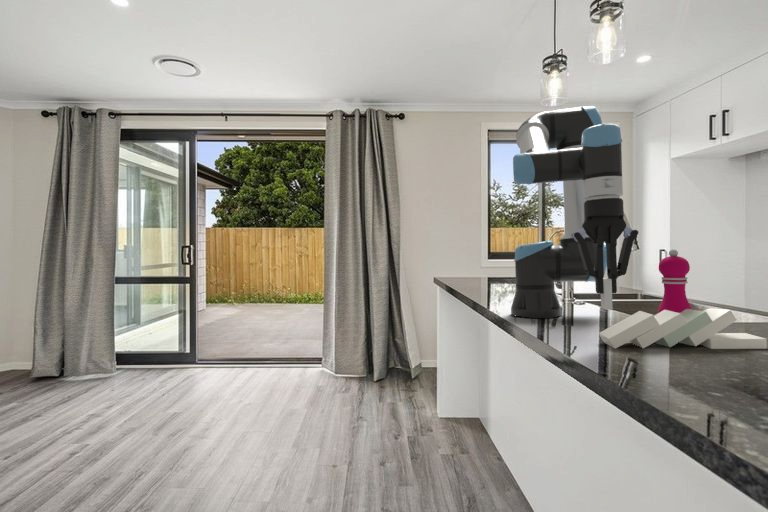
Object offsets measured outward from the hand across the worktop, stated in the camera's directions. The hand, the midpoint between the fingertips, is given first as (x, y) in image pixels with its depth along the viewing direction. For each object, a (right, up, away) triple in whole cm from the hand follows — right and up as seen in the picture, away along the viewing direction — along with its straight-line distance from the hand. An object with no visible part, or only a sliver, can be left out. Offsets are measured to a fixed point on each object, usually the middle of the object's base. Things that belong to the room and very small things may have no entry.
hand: (606, 308), depth 92 cm
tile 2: (+5, -7, -1) cm, 8 cm away
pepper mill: (+20, -7, +8) cm, 23 cm away
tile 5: (+18, -7, -3) cm, 20 cm away
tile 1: (0, -7, 0) cm, 7 cm away
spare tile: (+10, -6, -2) cm, 12 cm away
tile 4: (+15, -6, -2) cm, 16 cm away
